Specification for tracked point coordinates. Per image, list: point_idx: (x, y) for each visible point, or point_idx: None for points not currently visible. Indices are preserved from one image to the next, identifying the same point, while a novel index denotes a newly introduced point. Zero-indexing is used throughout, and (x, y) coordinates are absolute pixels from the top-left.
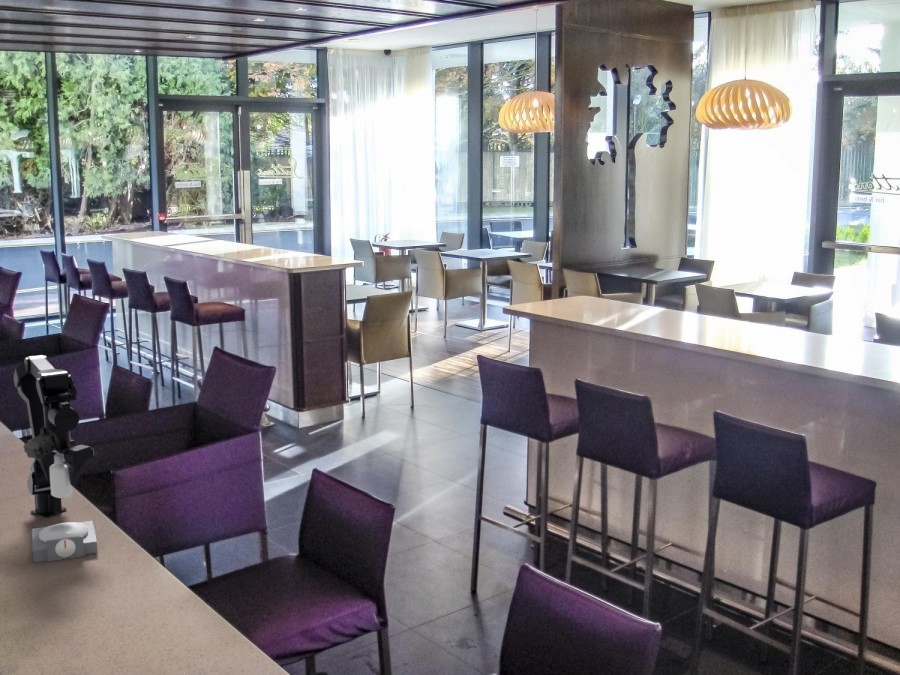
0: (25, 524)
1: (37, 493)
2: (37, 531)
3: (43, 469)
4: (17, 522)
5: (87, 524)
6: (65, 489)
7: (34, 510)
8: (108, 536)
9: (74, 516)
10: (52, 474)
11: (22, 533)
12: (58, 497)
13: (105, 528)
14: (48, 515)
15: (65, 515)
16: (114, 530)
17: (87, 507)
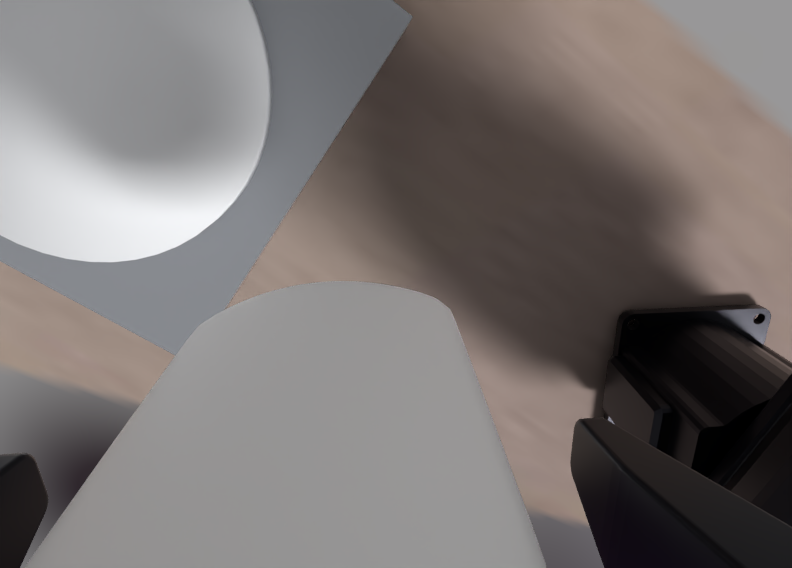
0: (664, 183)
1: (788, 379)
2: (324, 4)
3: (760, 535)
4: (735, 176)
5: (148, 303)
6: (160, 378)
7: (756, 331)
8: (81, 331)
9: (497, 404)
10: (358, 481)
11: (566, 72)
12: (288, 287)
13: None
14: (620, 327)
15: (553, 388)
16: (138, 398)
17: (535, 504)
